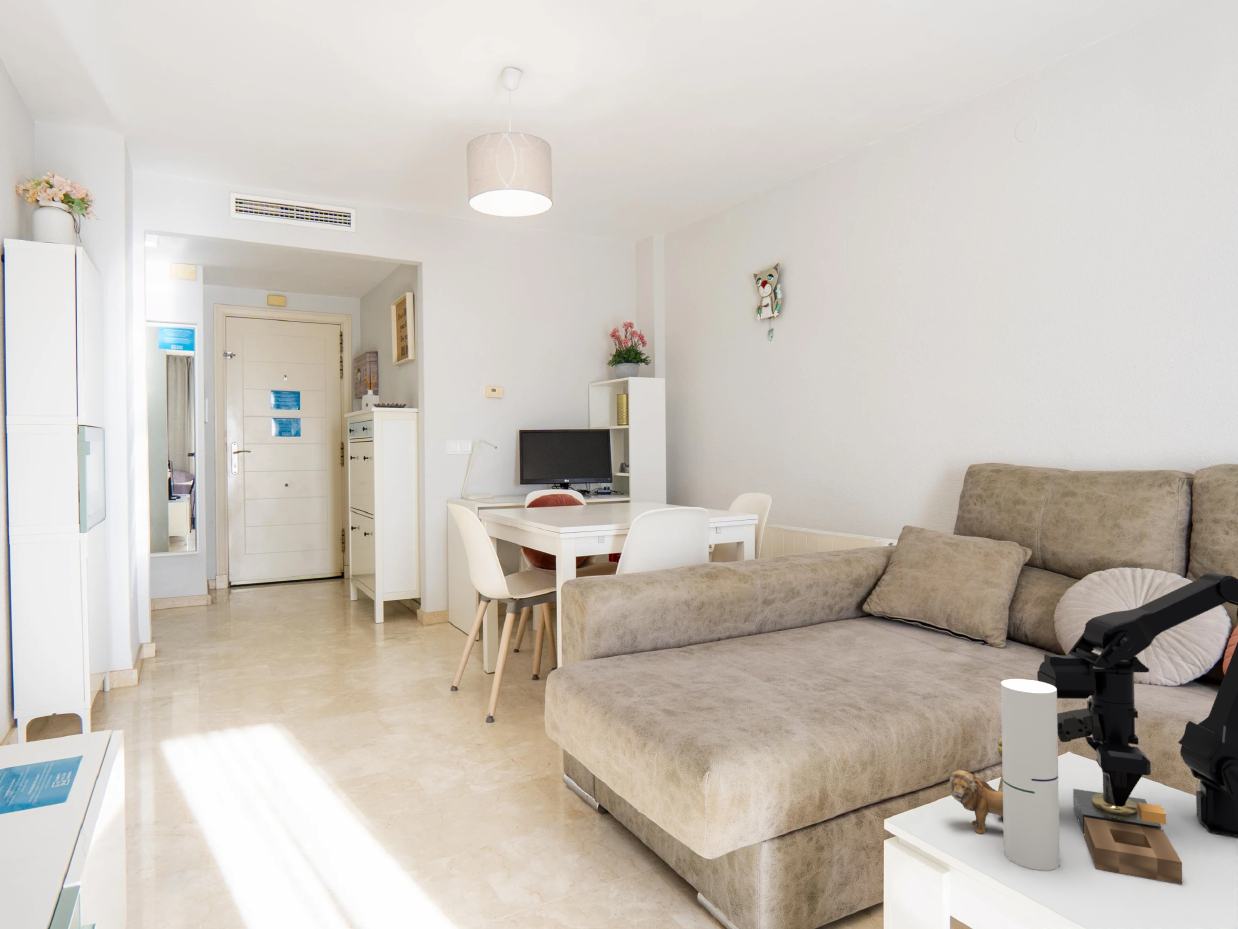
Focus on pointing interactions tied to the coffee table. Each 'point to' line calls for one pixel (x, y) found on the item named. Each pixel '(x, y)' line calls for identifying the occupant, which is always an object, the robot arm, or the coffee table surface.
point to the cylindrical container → (1030, 773)
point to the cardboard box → (1151, 813)
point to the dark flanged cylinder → (1107, 802)
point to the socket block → (1087, 809)
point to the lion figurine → (976, 797)
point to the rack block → (1132, 850)
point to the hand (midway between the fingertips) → (1114, 797)
